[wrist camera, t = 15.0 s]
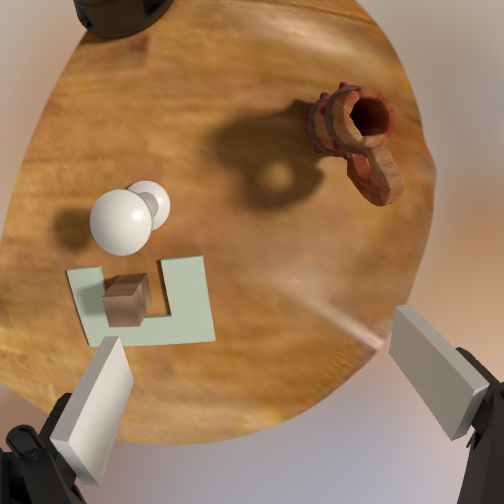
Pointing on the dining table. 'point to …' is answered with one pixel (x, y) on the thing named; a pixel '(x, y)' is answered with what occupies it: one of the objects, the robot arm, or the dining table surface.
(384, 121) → the mug
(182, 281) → the notched board
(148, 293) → the block
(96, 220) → the knob
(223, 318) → the dining table surface
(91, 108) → the dining table surface
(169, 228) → the dining table surface
